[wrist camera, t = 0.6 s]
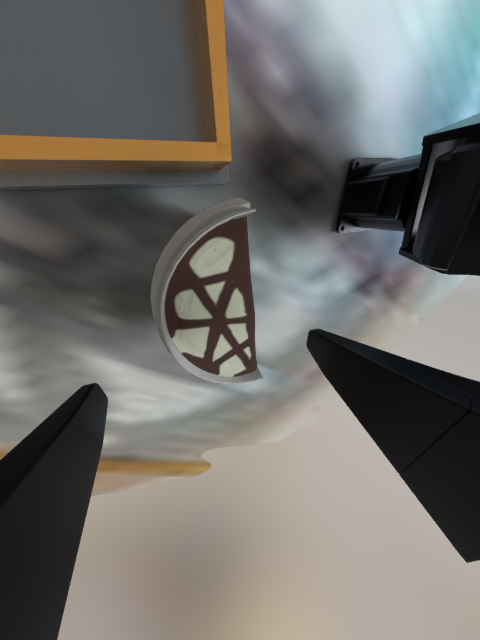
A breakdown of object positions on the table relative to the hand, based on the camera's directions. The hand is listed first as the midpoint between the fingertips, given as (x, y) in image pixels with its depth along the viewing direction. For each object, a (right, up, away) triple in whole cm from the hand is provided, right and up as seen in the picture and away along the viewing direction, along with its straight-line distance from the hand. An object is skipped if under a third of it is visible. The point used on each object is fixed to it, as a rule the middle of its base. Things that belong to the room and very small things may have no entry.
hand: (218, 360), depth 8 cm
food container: (-4, +6, +11) cm, 13 cm away
